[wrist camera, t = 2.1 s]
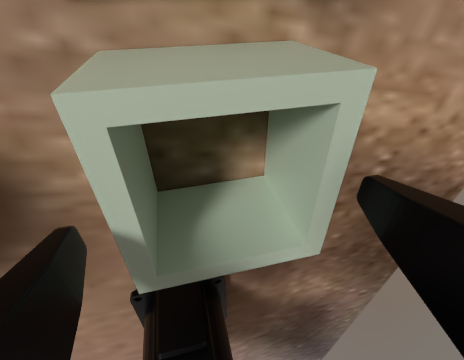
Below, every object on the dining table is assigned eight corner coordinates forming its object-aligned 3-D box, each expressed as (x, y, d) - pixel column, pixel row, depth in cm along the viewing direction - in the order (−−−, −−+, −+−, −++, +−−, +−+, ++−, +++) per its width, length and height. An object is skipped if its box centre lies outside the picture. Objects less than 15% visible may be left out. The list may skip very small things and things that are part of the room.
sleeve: (276, 184, 15) (319, 253, 11) (144, 205, 13) (139, 294, 9) (292, 40, 10) (377, 68, 6) (98, 50, 9) (50, 93, 5)
